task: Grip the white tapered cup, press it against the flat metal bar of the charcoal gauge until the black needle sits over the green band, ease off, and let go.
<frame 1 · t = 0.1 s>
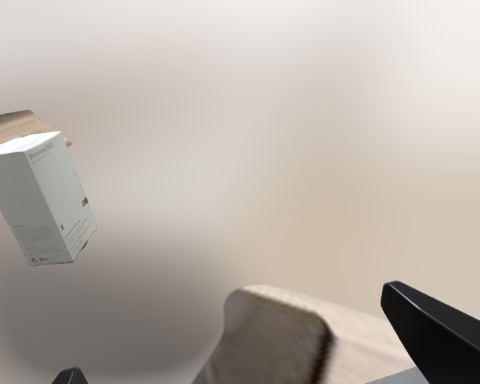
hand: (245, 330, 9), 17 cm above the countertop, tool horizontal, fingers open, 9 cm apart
skincare box: (66, 246, 43), on the countertop
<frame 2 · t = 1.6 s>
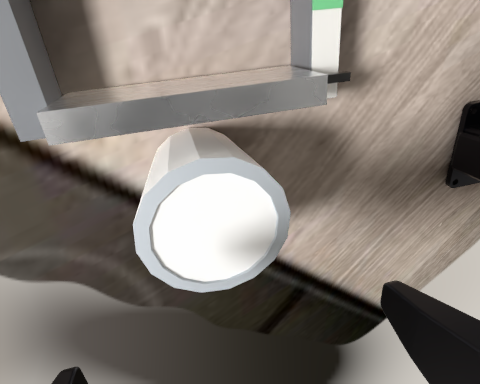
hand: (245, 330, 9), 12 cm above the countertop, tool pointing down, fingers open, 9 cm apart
white tapered cup: (197, 170, 20), on the countertop
gauge: (172, 15, 16), on the countertop
flat metal bar: (216, 94, 14), point 4 cm above the countertop, slide at 0.0 cm
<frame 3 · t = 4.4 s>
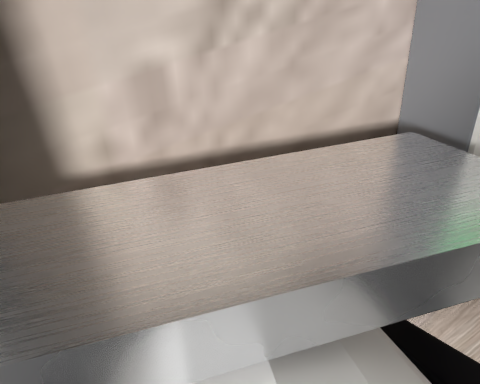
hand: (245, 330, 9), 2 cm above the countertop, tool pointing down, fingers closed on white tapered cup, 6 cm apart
white tapered cup: (231, 288, 11), point 1 cm above the countertop, touching gripper
gauge: (193, 38, 8), on the countertop
flat metal bar: (299, 222, 6), point 4 cm above the countertop, slide at 0.0 cm
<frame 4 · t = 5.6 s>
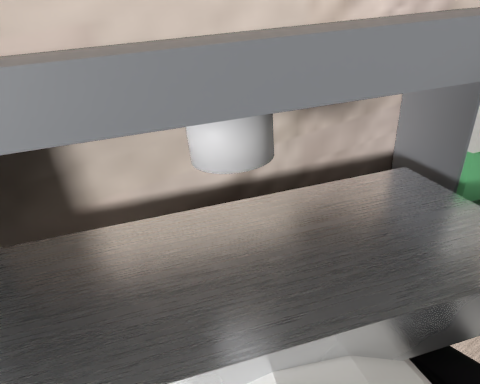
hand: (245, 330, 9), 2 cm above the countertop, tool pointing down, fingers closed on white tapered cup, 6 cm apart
white tapered cup: (231, 288, 11), point 1 cm above the countertop, touching gripper, flat metal bar
gauge: (217, 212, 10), on the countertop
flat metal bar: (298, 264, 7), point 4 cm above the countertop, slide at 3.9 cm, touching white tapered cup
when the fingers open (2 cm above the countertop, at t = 7.0 s): white tapered cup stays where it is, on the countertop.
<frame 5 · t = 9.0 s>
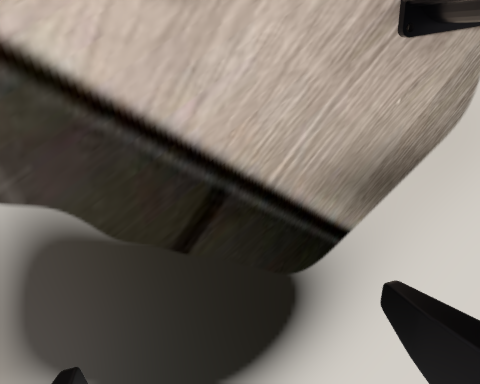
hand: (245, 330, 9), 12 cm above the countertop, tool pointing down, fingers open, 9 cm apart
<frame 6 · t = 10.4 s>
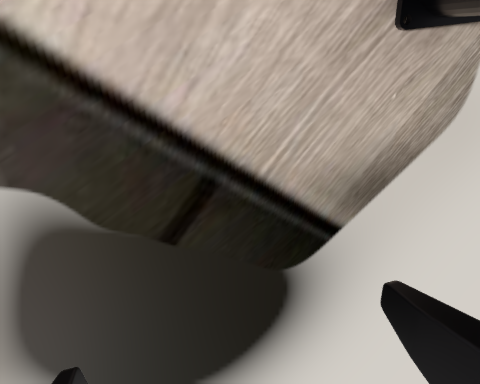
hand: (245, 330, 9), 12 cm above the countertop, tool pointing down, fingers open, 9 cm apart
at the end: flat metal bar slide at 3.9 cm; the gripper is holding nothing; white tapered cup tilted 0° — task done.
